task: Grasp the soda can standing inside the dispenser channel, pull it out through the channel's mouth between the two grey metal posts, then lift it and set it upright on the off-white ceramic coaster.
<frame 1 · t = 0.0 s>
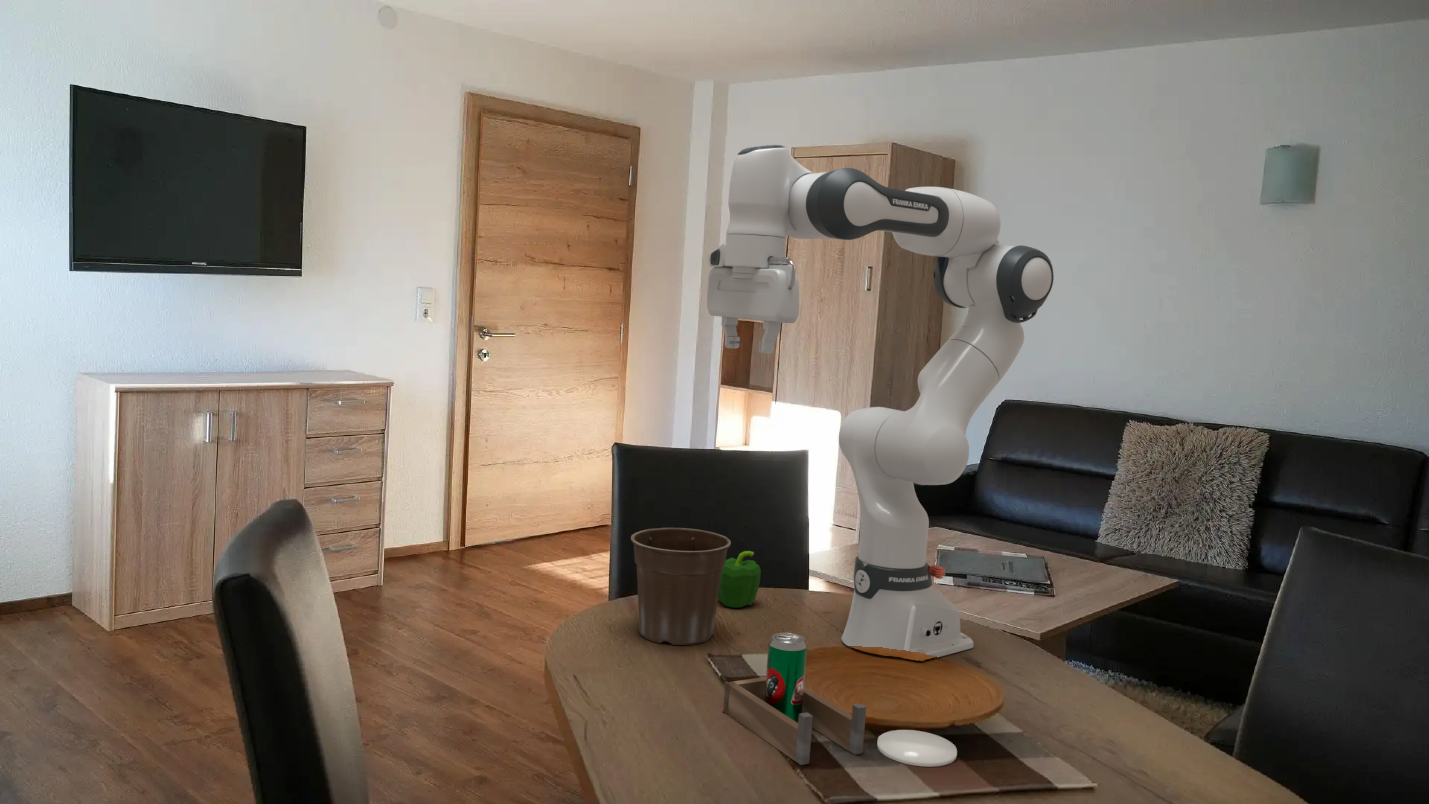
hand: (748, 350, 164), 48 cm above the table, fingers open, 8 cm apart
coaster: (916, 749, 142), on the table
bell pepper: (735, 605, 203), on the table
dispenser: (786, 728, 146), on the table
plant pot: (674, 635, 183), on the table
soda can: (781, 727, 147), resting in dispenser
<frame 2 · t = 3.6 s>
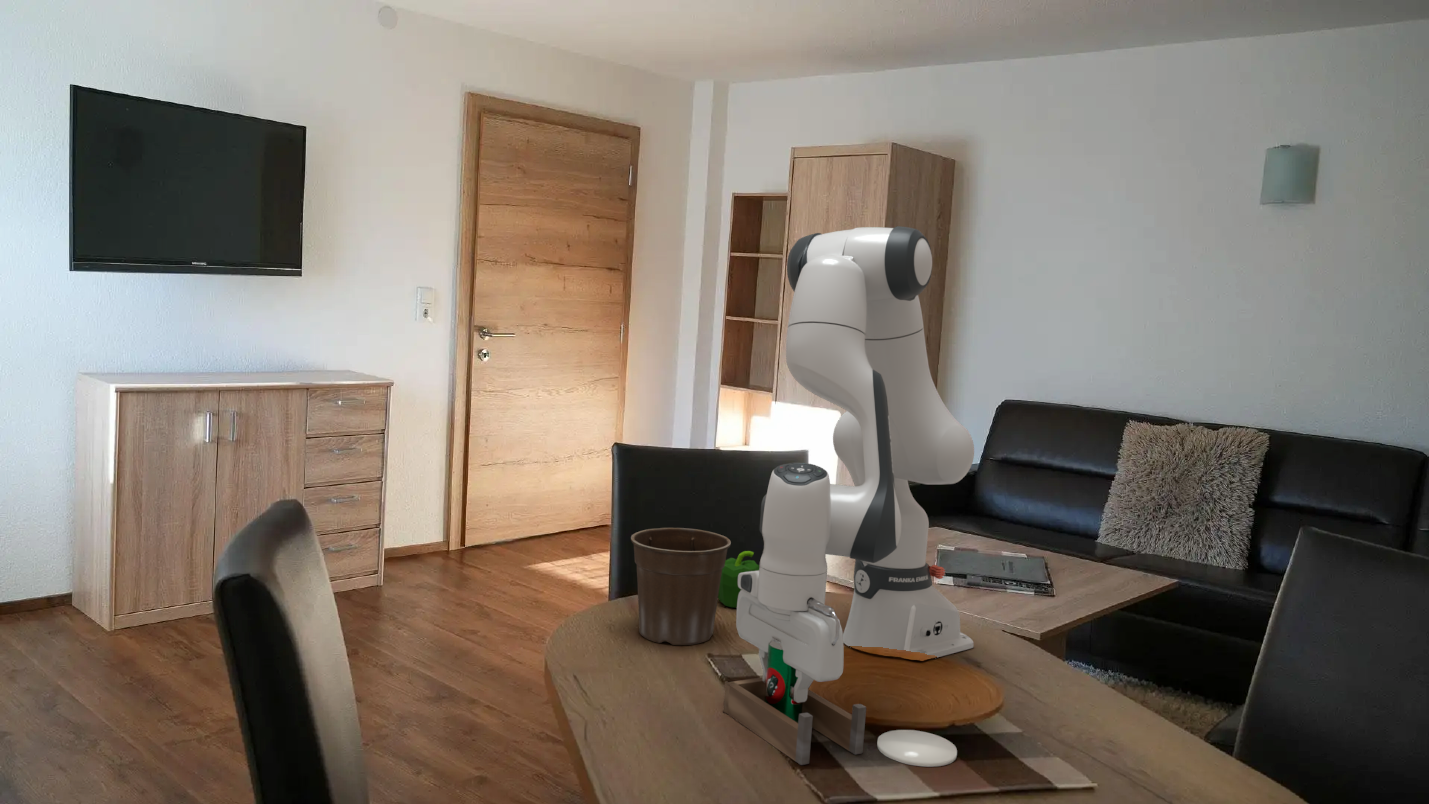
hand: (784, 691, 146), 5 cm above the table, fingers closed on soda can, 5 cm apart
soda can: (781, 727, 147), resting in dispenser, touching gripper
everything else where it was.
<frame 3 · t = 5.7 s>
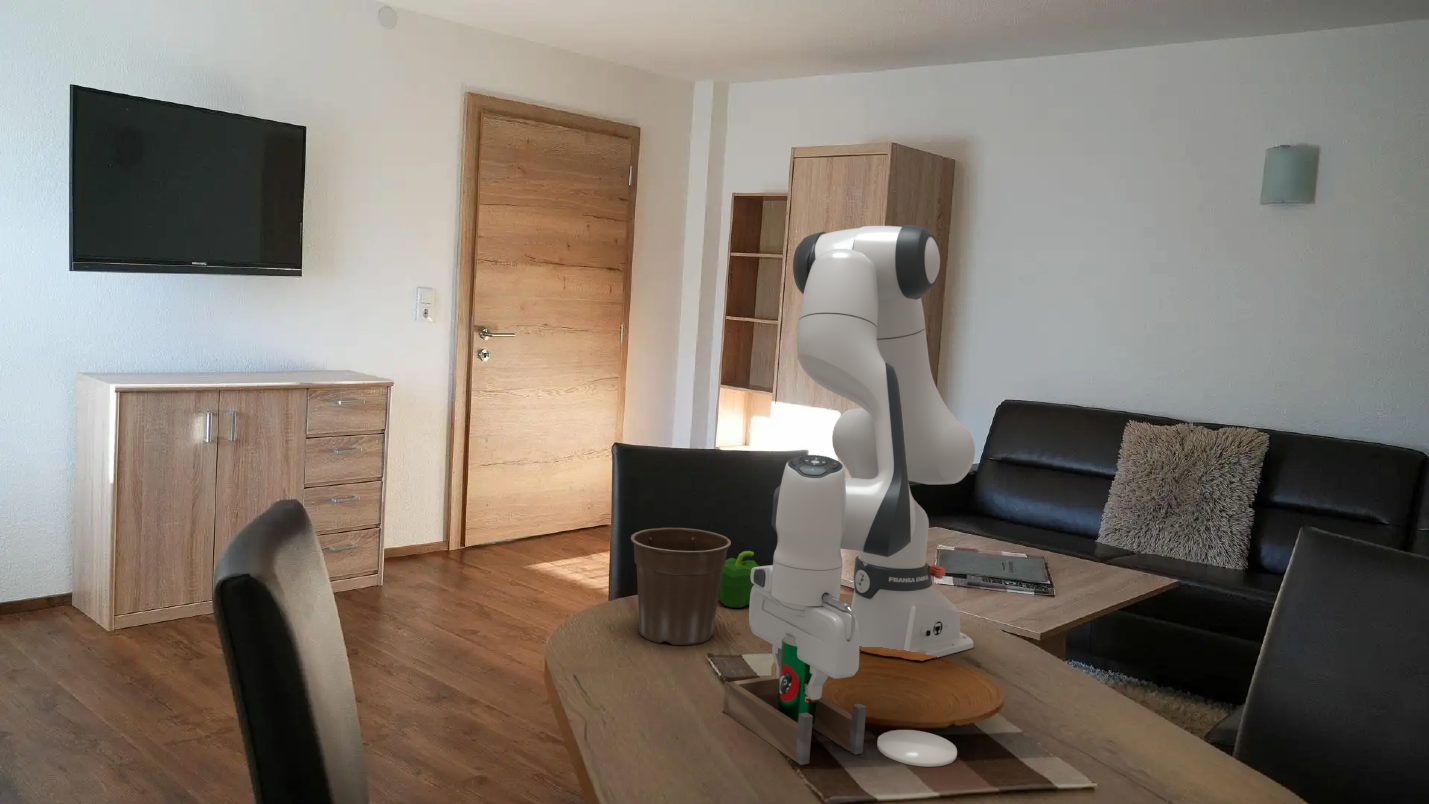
hand: (797, 688, 143), 6 cm above the table, fingers closed on soda can, 5 cm apart
soda can: (794, 725, 144), point 1 cm above the table, touching gripper
everything else where it was.
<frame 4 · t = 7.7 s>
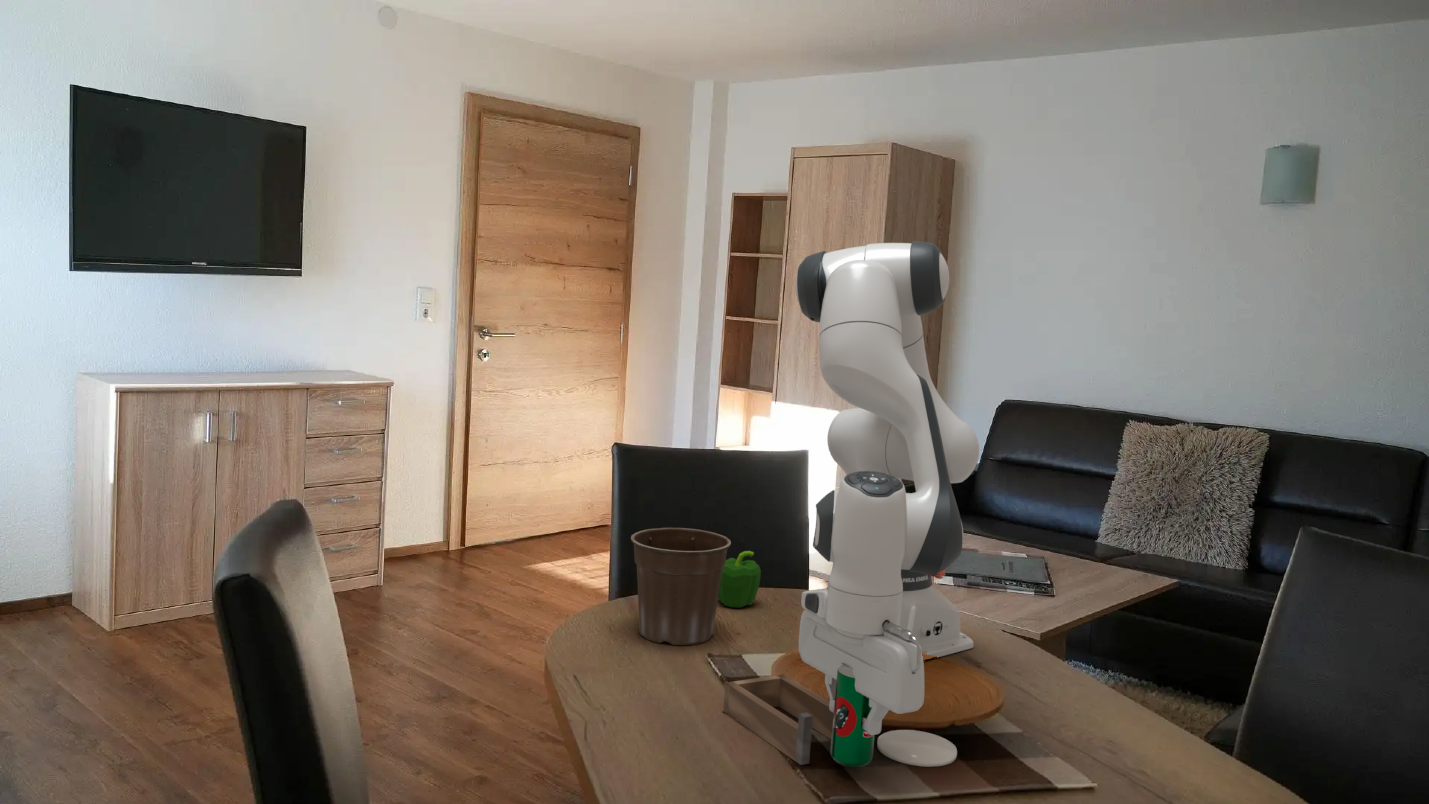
hand: (854, 722, 133), 6 cm above the table, fingers closed on soda can, 5 cm apart
soda can: (850, 761, 134), point 1 cm above the table, touching gripper
everything else where it was.
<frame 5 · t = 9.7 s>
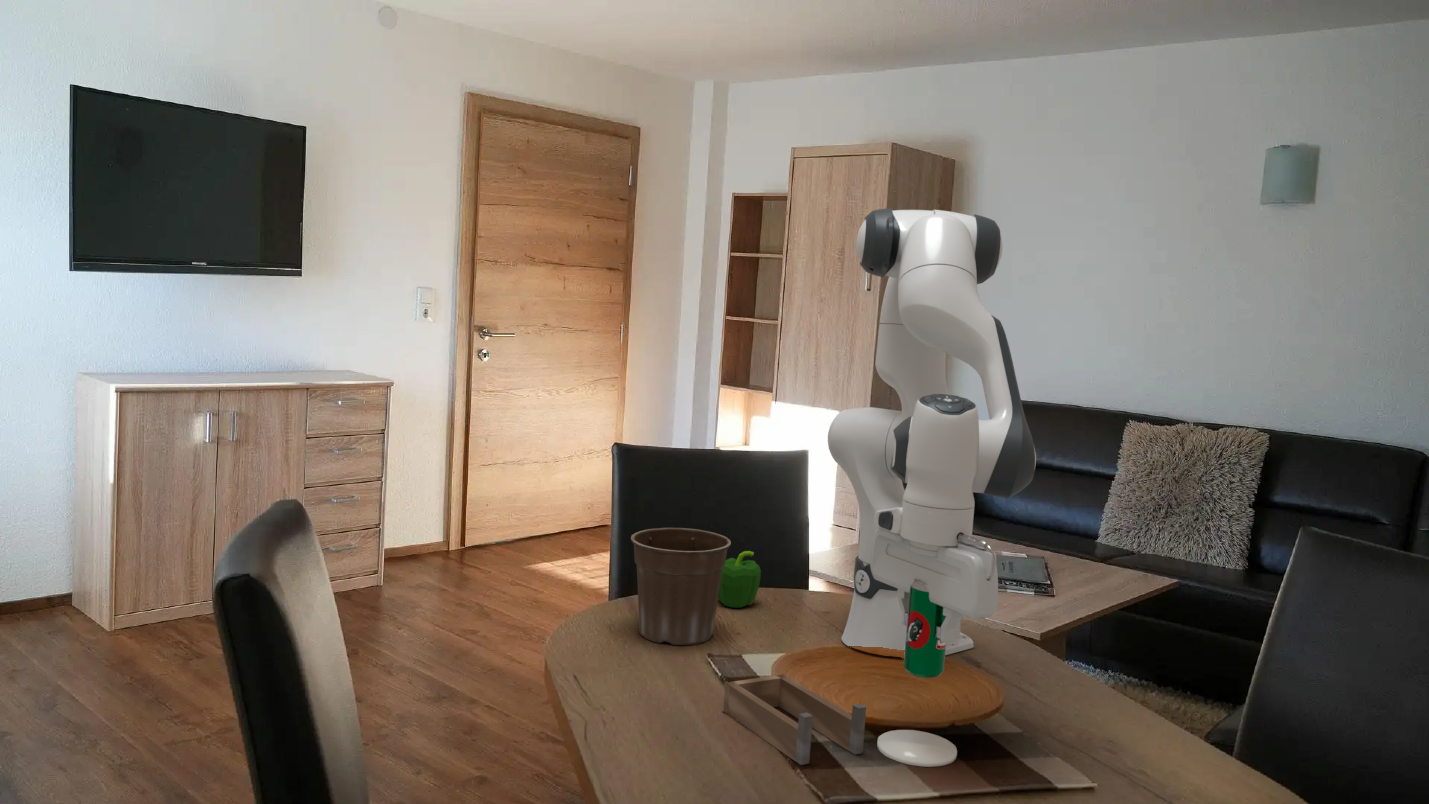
hand: (926, 633, 140), 15 cm above the table, fingers closed on soda can, 5 cm apart
soda can: (923, 674, 141), point 10 cm above the table, touching gripper
everything else where it was.
when the fingers open (7 cm above the table, at t = 11.6 s): soda can stays where it is, resting on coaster.
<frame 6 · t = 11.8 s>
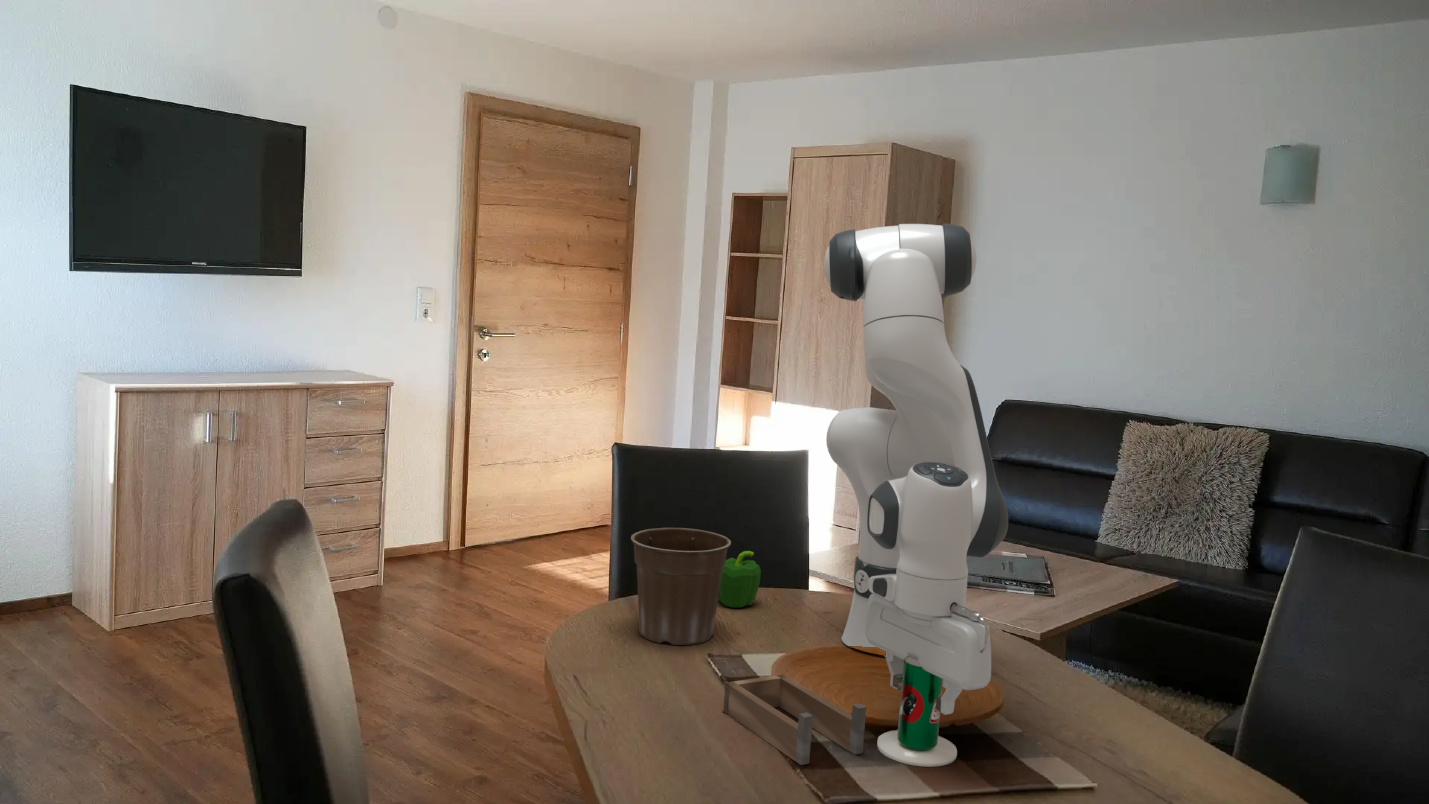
hand: (920, 699, 141), 7 cm above the table, fingers open, 7 cm apart
soda can: (916, 746, 142), resting on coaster
everything else where it was.
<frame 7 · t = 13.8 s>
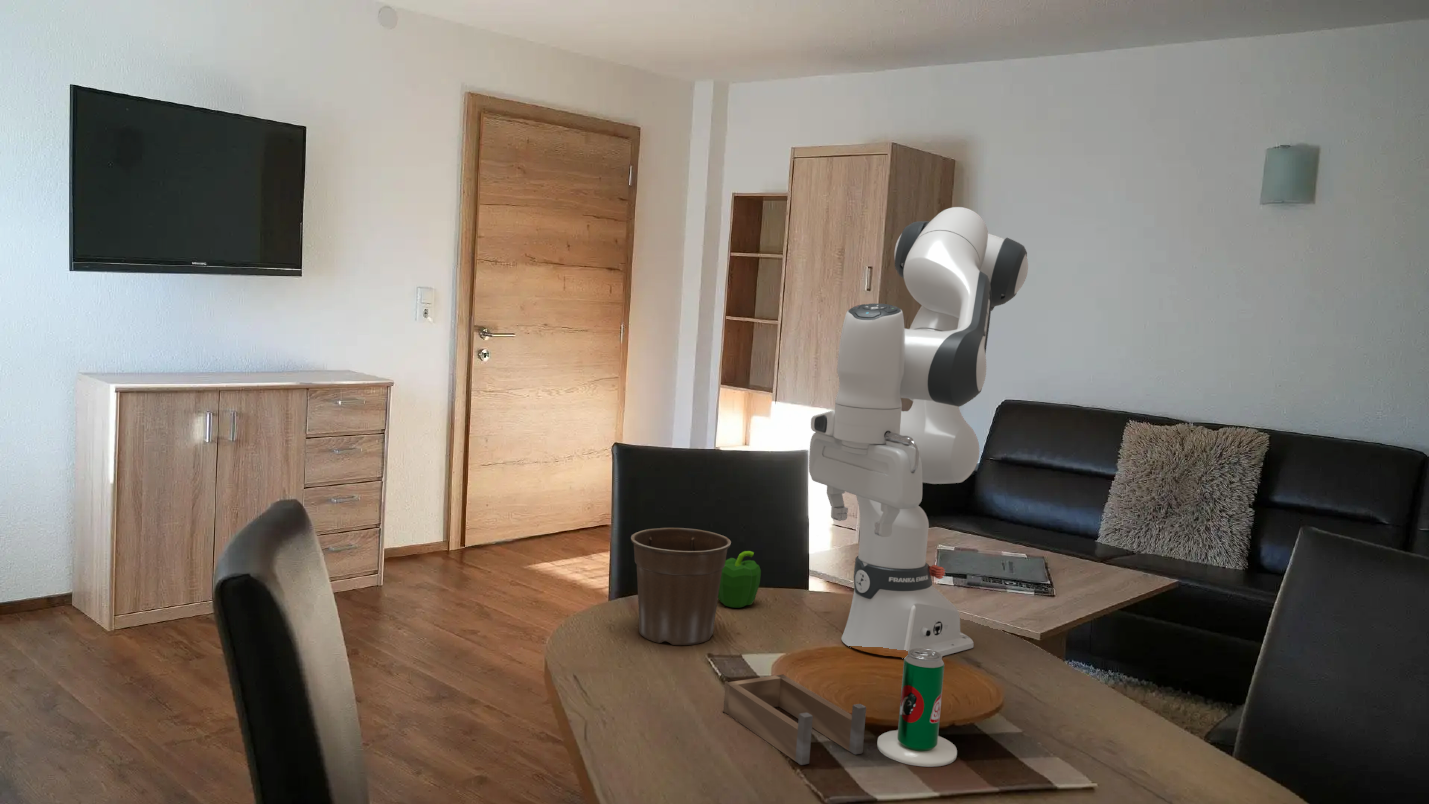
hand: (860, 527, 150), 26 cm above the table, fingers open, 8 cm apart
nothing on the table moved.
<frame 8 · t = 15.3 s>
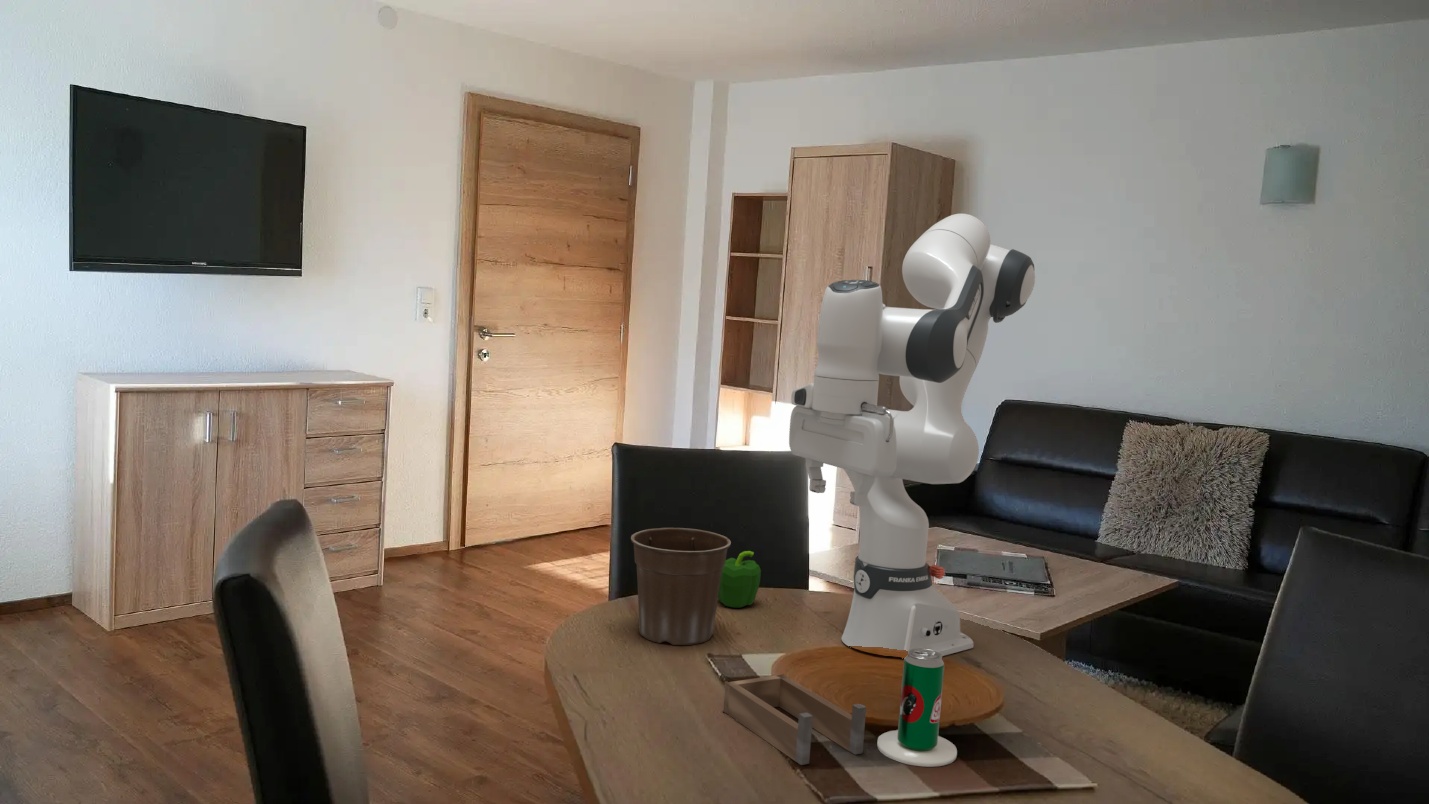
hand: (837, 498, 153), 29 cm above the table, fingers open, 8 cm apart
nothing on the table moved.
at the end: soda can 0.1 cm from the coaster (horizontally); soda can tilted 0°; the gripper is holding nothing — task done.
